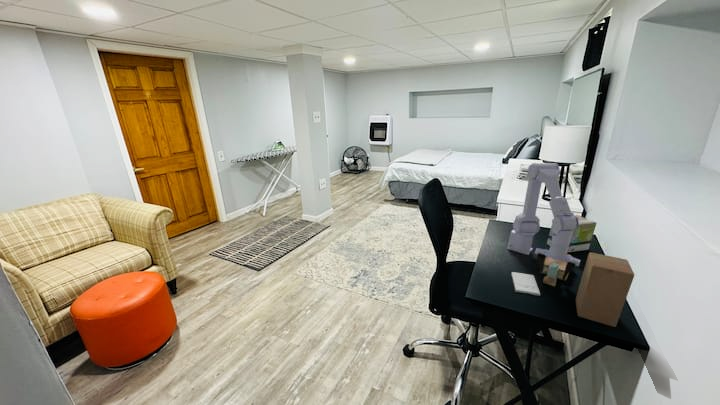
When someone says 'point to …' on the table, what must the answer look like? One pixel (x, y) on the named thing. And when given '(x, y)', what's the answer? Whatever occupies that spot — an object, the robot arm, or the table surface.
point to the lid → (560, 263)
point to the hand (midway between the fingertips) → (552, 274)
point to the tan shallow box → (551, 280)
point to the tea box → (579, 235)
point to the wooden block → (603, 288)
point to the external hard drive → (525, 283)
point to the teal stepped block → (553, 271)
